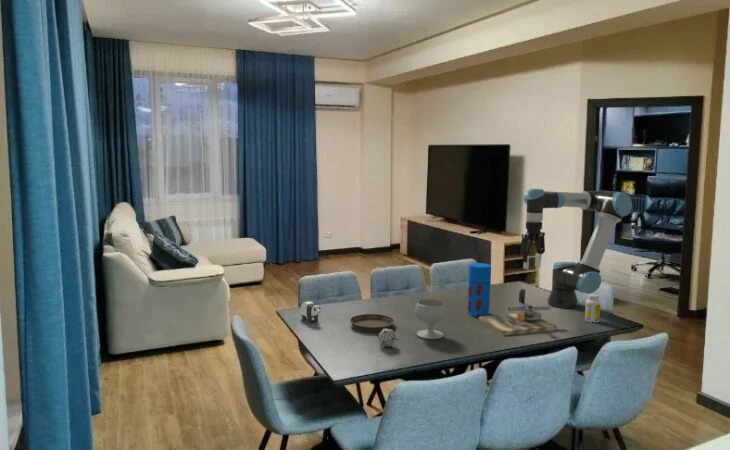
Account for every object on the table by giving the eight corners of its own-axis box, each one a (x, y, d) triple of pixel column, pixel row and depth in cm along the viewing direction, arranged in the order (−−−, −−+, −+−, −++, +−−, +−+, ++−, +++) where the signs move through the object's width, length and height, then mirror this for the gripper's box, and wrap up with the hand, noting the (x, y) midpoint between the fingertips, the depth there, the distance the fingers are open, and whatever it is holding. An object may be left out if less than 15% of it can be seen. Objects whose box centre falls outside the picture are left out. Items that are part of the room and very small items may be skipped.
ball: (521, 319, 259) (522, 312, 258) (526, 322, 255) (526, 314, 255) (515, 320, 257) (515, 313, 257) (519, 322, 254) (519, 315, 254)
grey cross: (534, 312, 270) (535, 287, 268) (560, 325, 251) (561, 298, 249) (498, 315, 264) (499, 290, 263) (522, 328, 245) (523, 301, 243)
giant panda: (299, 318, 266) (299, 299, 265) (310, 316, 269) (310, 297, 268) (314, 326, 254) (314, 306, 253) (324, 324, 257) (324, 304, 256)
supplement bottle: (599, 320, 267) (601, 294, 266) (599, 323, 261) (601, 297, 260) (584, 318, 270) (586, 292, 268) (584, 321, 264) (585, 295, 262)
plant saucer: (371, 317, 270) (372, 310, 269) (403, 327, 255) (403, 320, 255) (340, 326, 256) (340, 319, 255) (372, 337, 241) (372, 330, 240)
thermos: (489, 317, 269) (491, 268, 266) (466, 316, 271) (468, 266, 268) (488, 311, 280) (490, 263, 276) (467, 310, 282) (468, 262, 279)
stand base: (529, 316, 273) (529, 311, 272) (556, 330, 252) (557, 325, 252) (478, 320, 265) (478, 316, 264) (502, 335, 244) (503, 330, 244)
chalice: (438, 343, 234) (439, 308, 232) (408, 336, 241) (409, 303, 239) (451, 333, 246) (452, 301, 244) (422, 328, 253) (423, 296, 251)
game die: (382, 354, 231) (374, 331, 235) (401, 346, 231) (393, 324, 235) (381, 350, 222) (372, 327, 226) (400, 343, 223) (391, 320, 227)
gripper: (542, 218, 272) (540, 264, 275) (513, 221, 261) (511, 268, 264) (554, 220, 265) (552, 267, 269) (525, 223, 255) (523, 271, 258)
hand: (531, 267), depth 266 cm, fingers open, 8 cm apart
